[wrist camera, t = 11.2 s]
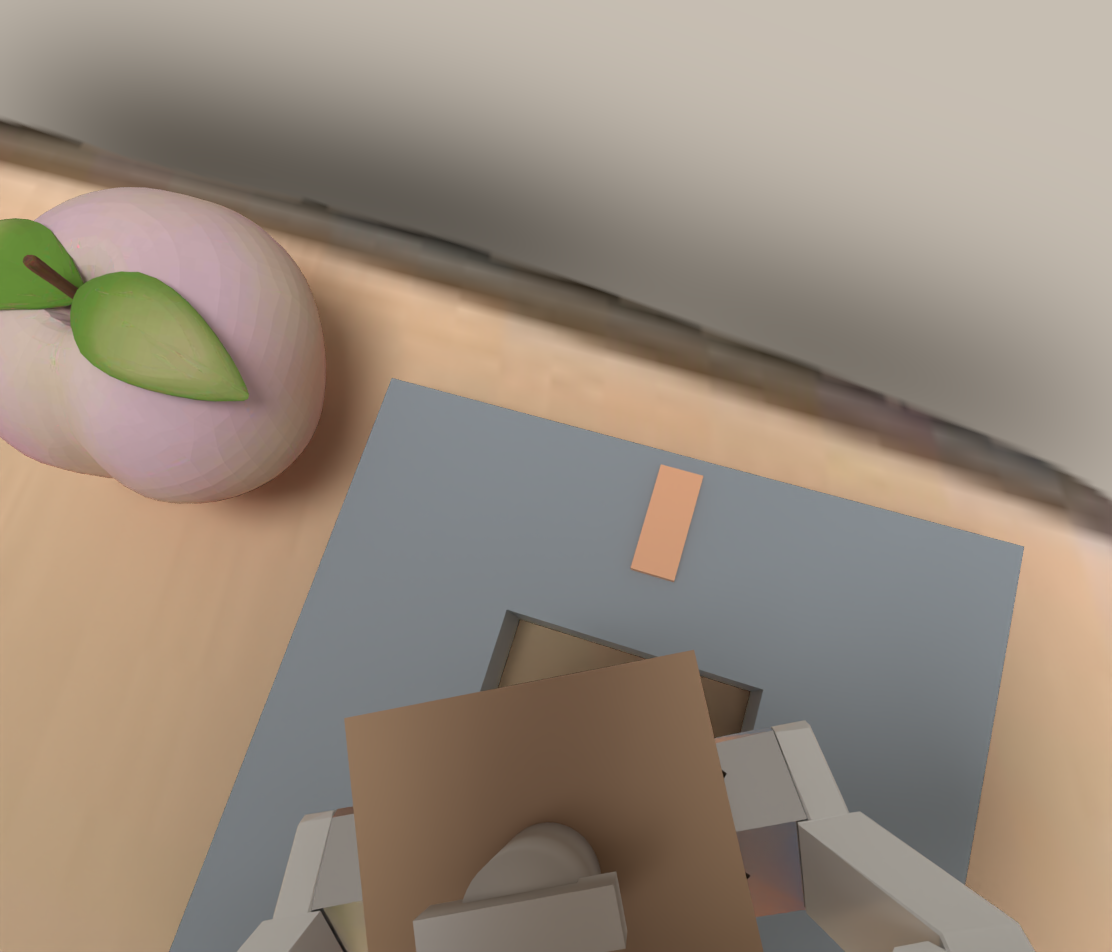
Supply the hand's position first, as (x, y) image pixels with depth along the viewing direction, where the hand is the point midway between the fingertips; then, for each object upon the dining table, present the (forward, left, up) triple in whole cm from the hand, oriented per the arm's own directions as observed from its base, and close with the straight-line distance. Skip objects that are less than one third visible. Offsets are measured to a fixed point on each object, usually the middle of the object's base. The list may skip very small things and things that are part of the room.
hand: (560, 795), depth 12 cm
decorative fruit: (-14, +7, -12) cm, 20 cm away
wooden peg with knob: (0, -1, -5) cm, 5 cm away
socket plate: (0, -1, -12) cm, 12 cm away
